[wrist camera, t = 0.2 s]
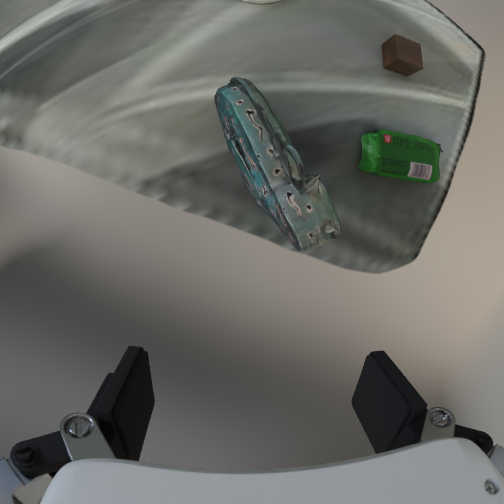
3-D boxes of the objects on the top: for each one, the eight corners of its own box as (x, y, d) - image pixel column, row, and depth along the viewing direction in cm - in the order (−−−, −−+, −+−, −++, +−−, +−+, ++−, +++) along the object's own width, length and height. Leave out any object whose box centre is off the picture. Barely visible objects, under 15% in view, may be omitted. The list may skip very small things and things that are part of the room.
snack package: (430, 185, 41) (449, 187, 36) (353, 174, 40) (368, 173, 34) (431, 145, 39) (450, 143, 34) (353, 128, 38) (368, 122, 33)
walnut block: (381, 44, 34) (395, 33, 29) (405, 53, 35) (420, 44, 30) (383, 68, 35) (398, 58, 31) (407, 76, 36) (423, 68, 31)
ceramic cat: (308, 215, 41) (371, 247, 21) (268, 236, 41) (300, 285, 22) (245, 94, 36) (257, 24, 16) (204, 113, 36) (180, 55, 17)
